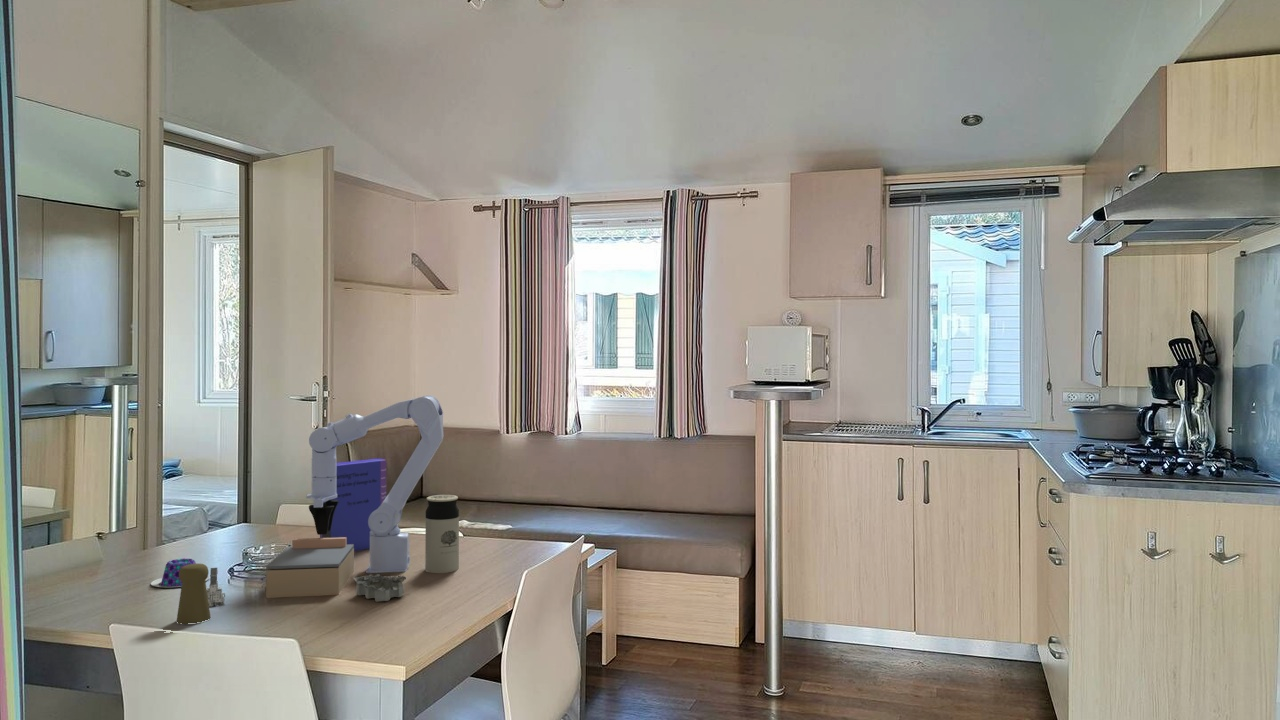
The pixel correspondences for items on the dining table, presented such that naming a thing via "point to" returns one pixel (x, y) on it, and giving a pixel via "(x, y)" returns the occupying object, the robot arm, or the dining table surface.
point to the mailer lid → (313, 553)
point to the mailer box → (309, 580)
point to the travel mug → (442, 534)
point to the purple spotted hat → (173, 573)
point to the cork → (193, 594)
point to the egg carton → (380, 586)
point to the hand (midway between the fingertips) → (323, 532)
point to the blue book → (357, 500)
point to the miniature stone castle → (215, 590)
